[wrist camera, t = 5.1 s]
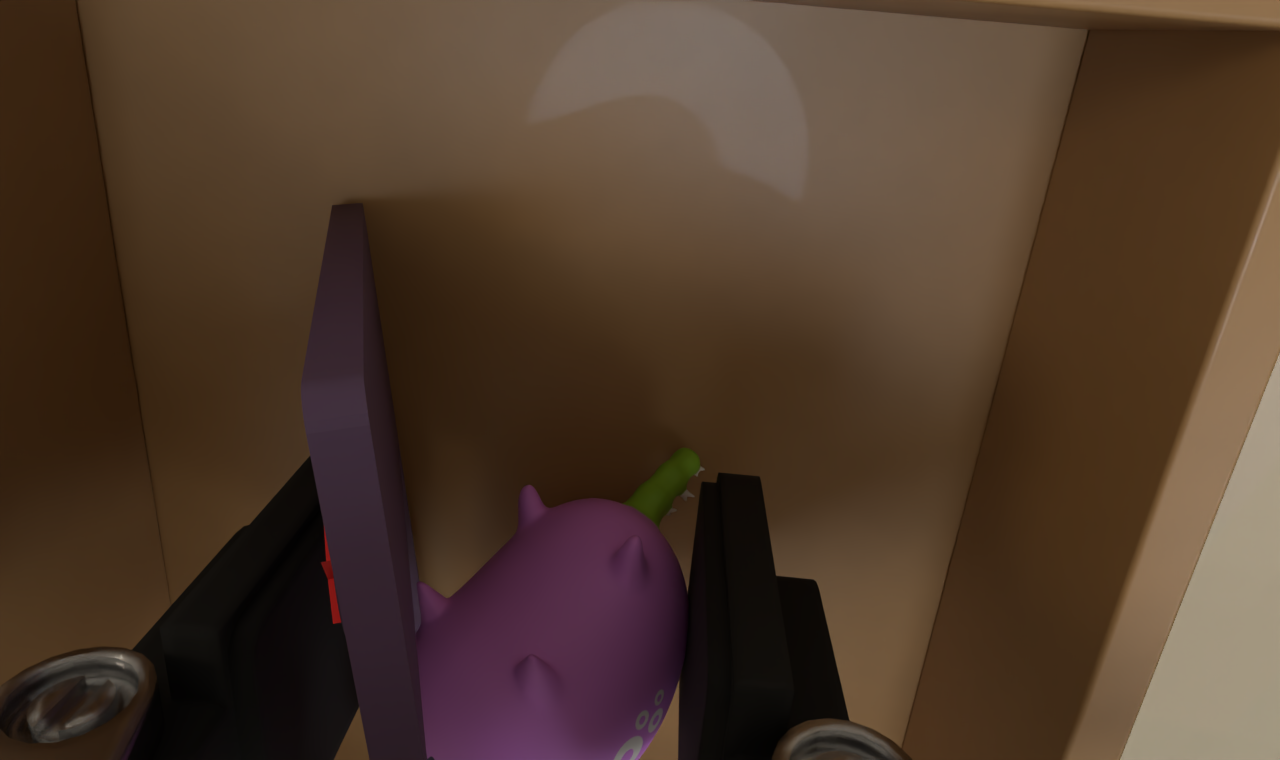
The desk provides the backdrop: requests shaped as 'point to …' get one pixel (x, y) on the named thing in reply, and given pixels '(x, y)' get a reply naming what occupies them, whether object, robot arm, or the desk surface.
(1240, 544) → the desk surface
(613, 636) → the purple toy figure
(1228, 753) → the desk surface
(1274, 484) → the desk surface
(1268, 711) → the desk surface
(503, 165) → the box
